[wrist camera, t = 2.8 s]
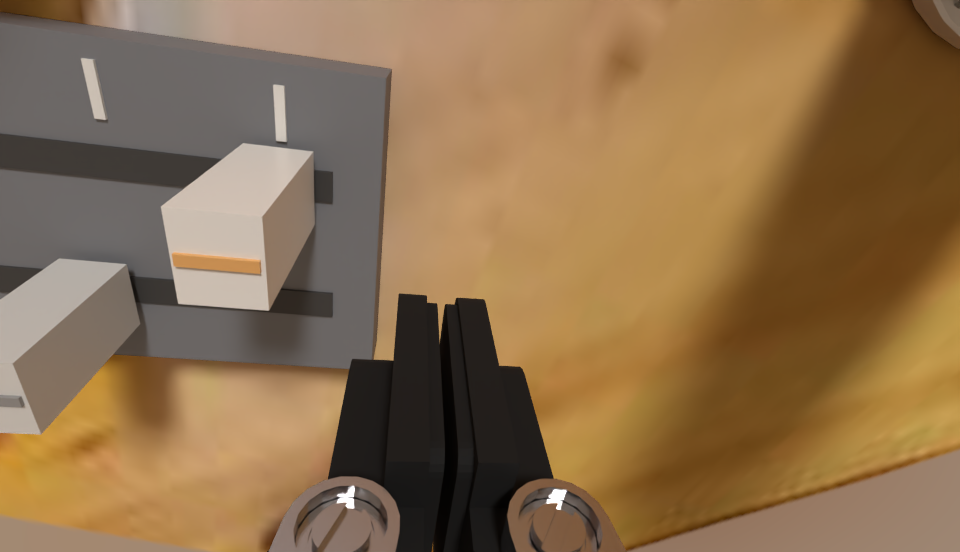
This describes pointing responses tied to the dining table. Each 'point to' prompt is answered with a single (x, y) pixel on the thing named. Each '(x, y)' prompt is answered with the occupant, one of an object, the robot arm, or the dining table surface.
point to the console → (190, 178)
